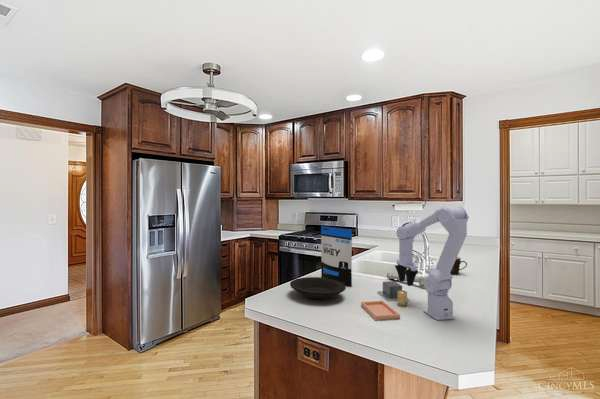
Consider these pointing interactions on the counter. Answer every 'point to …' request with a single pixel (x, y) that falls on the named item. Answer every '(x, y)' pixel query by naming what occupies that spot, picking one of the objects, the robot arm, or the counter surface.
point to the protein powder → (336, 254)
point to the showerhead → (429, 270)
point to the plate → (317, 287)
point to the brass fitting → (402, 298)
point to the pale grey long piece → (417, 278)
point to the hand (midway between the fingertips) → (406, 283)
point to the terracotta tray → (380, 310)
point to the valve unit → (390, 290)
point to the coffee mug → (457, 266)
